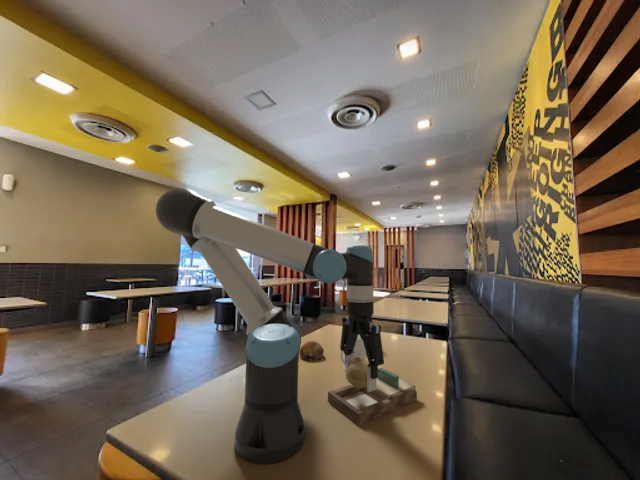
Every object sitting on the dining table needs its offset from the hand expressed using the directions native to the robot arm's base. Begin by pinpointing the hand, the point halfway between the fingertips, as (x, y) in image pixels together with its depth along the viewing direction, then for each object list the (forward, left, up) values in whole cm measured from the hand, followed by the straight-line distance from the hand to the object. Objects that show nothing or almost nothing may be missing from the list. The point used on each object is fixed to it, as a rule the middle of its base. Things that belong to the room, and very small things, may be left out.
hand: (360, 383), depth 73 cm
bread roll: (+9, +40, -6) cm, 41 cm away
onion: (0, 0, -1) cm, 1 cm away
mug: (+14, +20, -6) cm, 25 cm away
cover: (+11, 0, -3) cm, 11 cm away
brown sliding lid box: (+5, 0, -6) cm, 7 cm away
